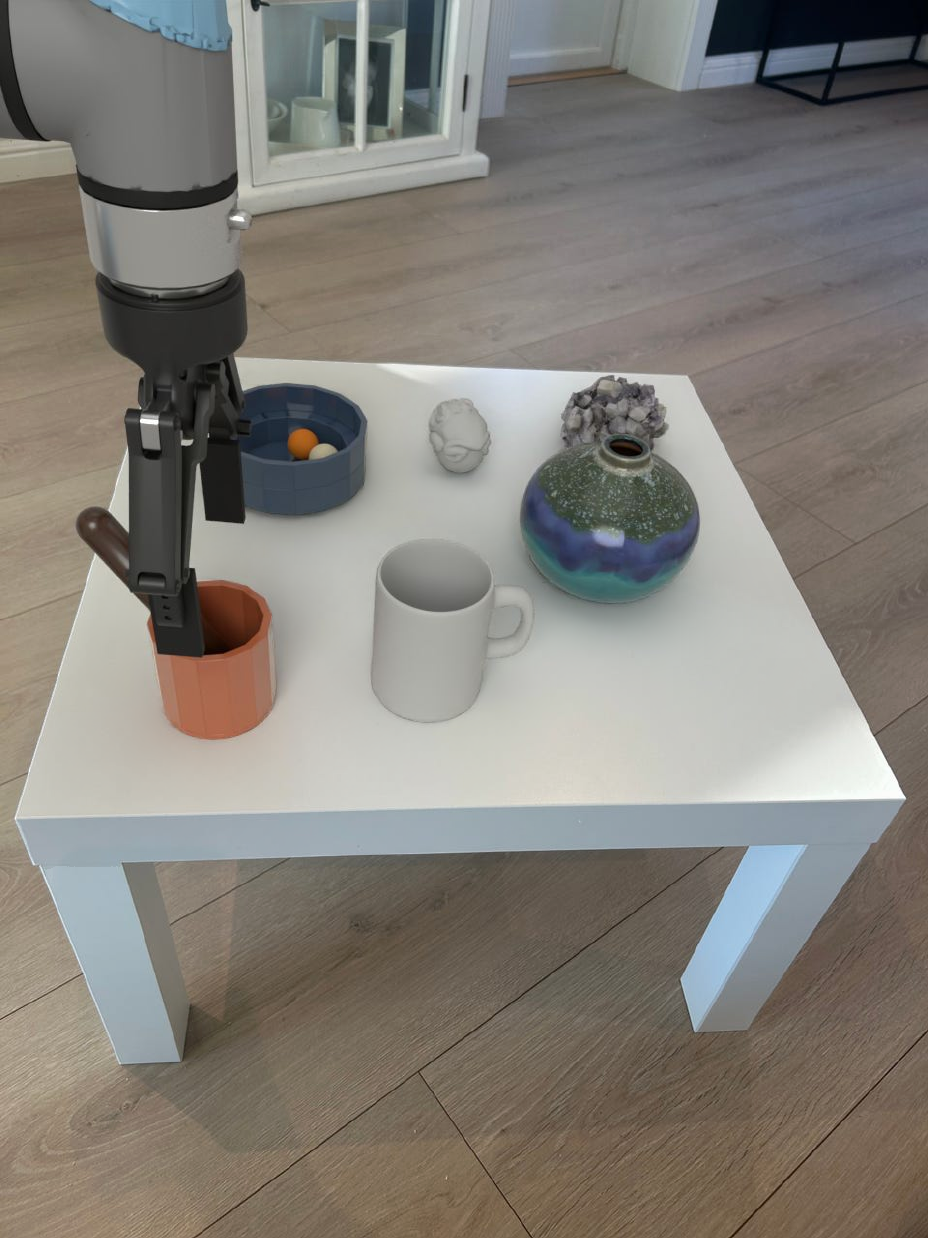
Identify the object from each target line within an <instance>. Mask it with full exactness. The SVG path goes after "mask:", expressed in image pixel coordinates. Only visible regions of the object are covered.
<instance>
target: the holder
mask: <svg viewBox="0 0 928 1238" xmlns="http://www.w3.org/2000/svg"><path fill="white" fill-rule="evenodd" d="M197 588H198V596H199V605H200V613H201V615H202V616H203V617H204V618H205V619H206V620H207V621H208V622H209V623H210V625H211V626H212V627H213V628H214V629H215V630H216V631H217V632H218V634H219V635H220V636H221V637H222V638H223V639H224V640H225V641H226V642H227V644H228V645H229V646H230V647H231V648H232V649H233V650H231V651H229V652H226V653H224V654H214V655H203V657H202V658H200V657H188V656H175V655H162V654H157V648H156V642H155V636H154V630H153V624H152V618H151V613H150V614H149V615H148V616H149V617H148V619H147V621H146V628H147V633H148V639H149V645H150V650H151V655H152V662H153V668H154V673H155V679H156V684H157V689H158V696H159V700H160V703H161V708H162V711H163V714H164V716H165V719H167V721H168V722H169V723H170V725H171V726H173V727H174V728H175V729H176V730H178V731H179V732H180V733H183V734H185V735H187V736H189V737H194V738H197V739H202V740H203V739H204V740H225V739H229V738H233V737H237V736H240V735H243V734H246V733H248V732H249V731H251V730H253V729H254V728H256V727H258V726H259V725H260V724H261V723H262V722H263V721H264V720H265V719H266V718H267V717H268V716H269V714H270V713H271V711H272V708H273V707H274V703H275V700H276V690H277V680H276V679H277V678H276V665H275V663H276V662H275V661H276V660H275V644H274V629H273V628H274V627H273V625H274V624H273V614H272V612H271V609H270V607H269V604H268V603H267V601H266V599H265V597H264V596H263V595H261V594H260V593H258V592H256V591H255V590H254V589H252V588H251V587H249V586H247V584H241V583H237V582H233V581H228V580H224V579H213V580H199V581H197Z"/></svg>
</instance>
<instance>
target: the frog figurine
mask: <svg viewBox="0 0 928 1238" xmlns="http://www.w3.org/2000/svg"><path fill="white" fill-rule="evenodd" d="M431 412H432V413H431V414H430V417H429V419H428V431H429V432H430V433H429V436H428V440H429V442H430V444H431V446H432V450H433V452H434V454H435V457H436V458H437V461H438V462H439V463H440V464H441V466H443V467H444V469H446V470H447V471H450V472H453V473H460V474H461V473H467V472H470V471H472V470H474V469H476V468H477V467H478V466H479V465H480V464H481V462H482V461H483V459H484V457H485V456H486V455H488V454H489V451H490V450H489V447H490V446H491V445H492V439H491V433H490V431H489V430H488V424H487V422H486V420H485V418H484V417H483V416H482V415H481V414H480V413H479V410H478V408H476V407H475V405H474V401H472V400H471V399H469V398H467V397H465V398H464V397H462V398H459V399H457V398H452V399H449V400H444V401H441V402H439V403H437V404H436V406H435V407H434V408H433V410H432V411H431Z"/></svg>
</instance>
